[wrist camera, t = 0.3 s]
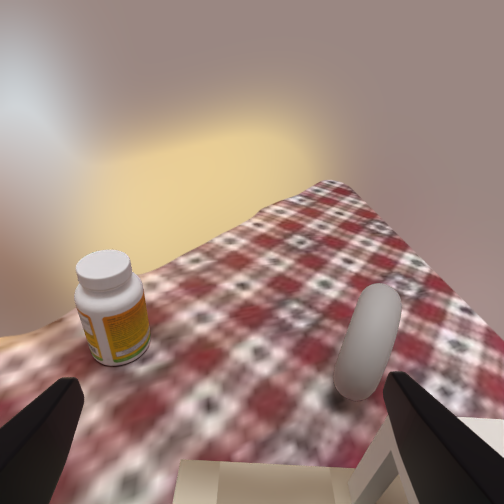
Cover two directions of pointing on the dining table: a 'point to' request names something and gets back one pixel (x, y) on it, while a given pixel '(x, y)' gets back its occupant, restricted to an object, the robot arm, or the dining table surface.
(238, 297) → the dining table surface
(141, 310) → the supplement bottle
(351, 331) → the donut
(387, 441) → the tunnel
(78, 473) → the dining table surface
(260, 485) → the deck
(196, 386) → the dining table surface
